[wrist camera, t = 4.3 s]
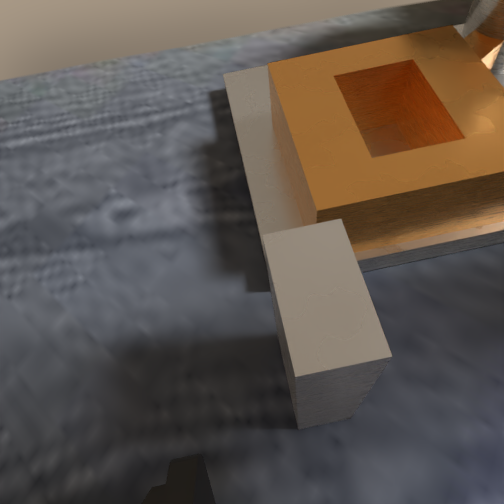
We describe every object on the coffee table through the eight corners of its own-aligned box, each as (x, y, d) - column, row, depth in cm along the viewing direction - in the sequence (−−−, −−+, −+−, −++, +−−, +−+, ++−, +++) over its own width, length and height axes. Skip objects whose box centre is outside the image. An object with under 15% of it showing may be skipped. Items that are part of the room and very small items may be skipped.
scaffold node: (522, 9, 33) (669, -312, 20) (717, 197, 22) (1316, -228, 9) (221, 72, 33) (168, -208, 20) (272, 291, 22) (228, 0, 9)
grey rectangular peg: (325, 329, 21) (340, 218, 12) (350, 418, 19) (392, 356, 10) (278, 339, 21) (262, 235, 12) (298, 429, 19) (295, 377, 10)
